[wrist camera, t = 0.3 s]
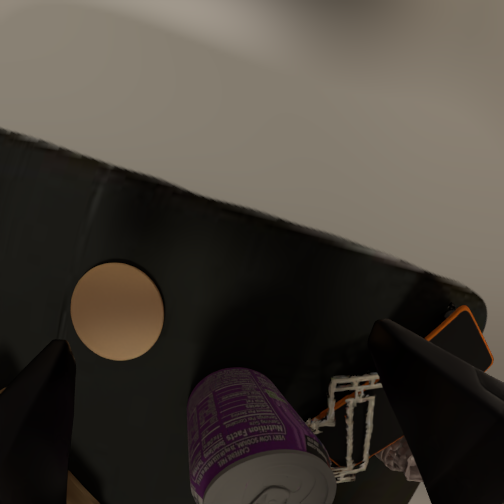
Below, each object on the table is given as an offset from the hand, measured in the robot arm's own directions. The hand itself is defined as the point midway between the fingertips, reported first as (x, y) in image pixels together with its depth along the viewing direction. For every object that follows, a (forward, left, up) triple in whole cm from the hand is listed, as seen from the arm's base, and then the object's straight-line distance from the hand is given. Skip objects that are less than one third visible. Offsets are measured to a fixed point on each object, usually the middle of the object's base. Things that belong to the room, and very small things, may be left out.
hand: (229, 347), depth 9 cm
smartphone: (-14, -17, -12) cm, 25 cm away
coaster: (+2, +6, -15) cm, 16 cm away
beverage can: (-8, +2, -15) cm, 17 cm away
